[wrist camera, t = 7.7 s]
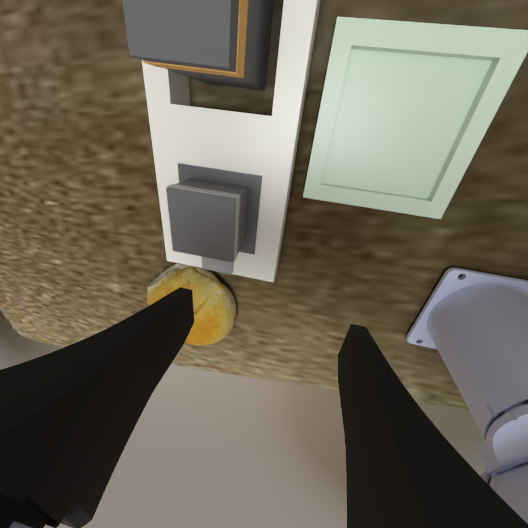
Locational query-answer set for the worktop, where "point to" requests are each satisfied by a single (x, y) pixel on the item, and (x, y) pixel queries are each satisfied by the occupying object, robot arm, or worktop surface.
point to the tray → (407, 111)
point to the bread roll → (199, 301)
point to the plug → (203, 38)
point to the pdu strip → (230, 161)
